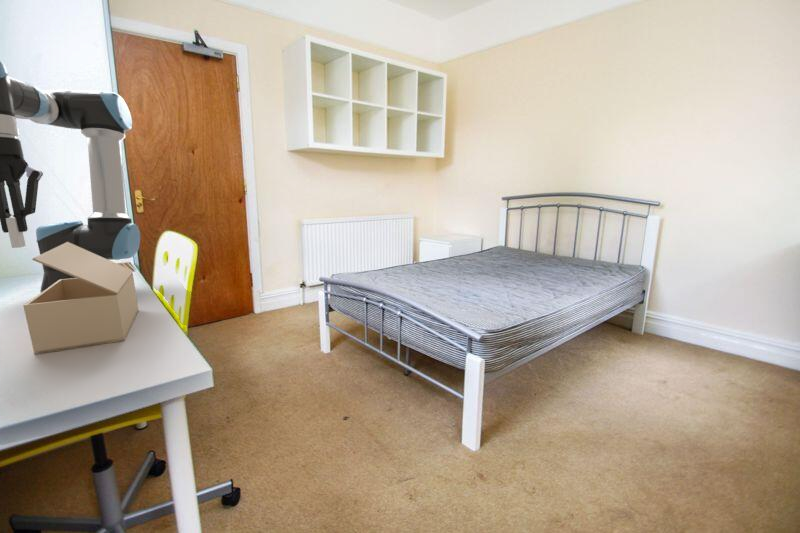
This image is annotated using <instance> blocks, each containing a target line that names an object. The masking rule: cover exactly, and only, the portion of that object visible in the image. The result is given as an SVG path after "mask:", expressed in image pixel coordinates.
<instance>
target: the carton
mask: <svg viewBox="0 0 800 533" xmlns="http://www.w3.org/2000/svg"><path fill="white" fill-rule="evenodd" d="M133 273H134V272H132V274H131V275H130V276H129V278H128V279H127V281H126V282H125V283H124V285H123V286H122V288H121V289H120V290H119V292H118V293H117V294H115V293H112V292H110V291H107V290H105V289H102V288H100V287H98V286H95V285H93V284H90V283H88V282H85V281H83V280H80V279H78V278H71V279H60V280H58V281H57V282H55V283H54V284H53V285H51V286H50V287H48V288H47V289H46V290H44V291H43V292H40V293H38V294H37V295H36V296H34V297H33V298H31V299H30V300H29V301H27V302H26V303H25V304H23V305H22V306H23V309H24V314H25V317H26V323H27V328H28V332H29V335H30V341H31V345H32V349H33V350H32V351H33V355H42V354H47V353H52V352H59V351H66V350H73V349H80V348H86V347H93V346H99V345H105V343H106V344H112V343H118V342H119V343H120V342H125V340H126V338H127V336H128V334H129V332H130V330H131V328H132V325H133V324H134V322H135V319H136V317H137V315H138V313H139V304H138V297H137V292H136V286H135V280H134V274H133Z"/></svg>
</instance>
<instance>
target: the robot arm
mask: <svg viewBox="0 0 800 533" xmlns="http://www.w3.org/2000/svg"><path fill="white" fill-rule="evenodd" d="M17 119H21V120H30V121H31V122H33V123H36V124H40V125H46V126H47V125H48V126H53V127H60V128H64V129H71V130H80V133H81V134H82V135H83V136H85V138H86V139H87V149H88V150H87V151H88V164H89V165H88V166H89V177H90V188H91V189H90V190H91V204H92V205H91V206H92V214H91V215H89V216H88V217H87V224H84V223H83V221H82V220H81V219H79V220H72V221H71V220H70V221H63V222H58V223H50V224H46V225H39V226H38V227H37V228H36V230H35V235H36V243H37V248H38V250H39V255H41V254H43V253H45V252H47V251H49V250H51V249H54V248H56V247H58V246H60V245H62V244H64V243H66V242H69V243H72V244H74V245H76V246H78V247H81V248H83V249H85V250H87V251H90V252H92V253H94V254H96V255H99V256H101V257H103V258H105V259H108V260H110V261H112V260H115V261H119V260H126V259H128V260H129V259H131V258H134V256H136V254H137V253H138V251H139V249H140V243H141V231H140V228H139V227H138V225H137V224H136V223H133V222H132V221H133V220H132V217H130V216H129V215H127V213H126V202H125V190H124V188H125V186H124V175H123V174H124V172H123V161H122V147H121V146H122V145H121V142H122V141H123V140H124V139H125V138H126V132H128V131H130V130H132V129H133V128H132V127H133V120H132V115H131V112H130V109H129V107H128V105H127V103H126V101H125V99H124V98H123V97H122V96H121V95H120V94H118V93H117V92H113V91H104V90H77V89H55V90H54V89H52V90H50V89H49V90H41V89H40V88H38V87H37V86H35V85H33V84H31V83H29V82H28V81H27V82H25V81H21V80H19V79H16V78H12V77H11V76H9V72H8V70H7V67H6V65H5V64H4V62H2V61H1V60H0V226H1V230H2V232H3V233H4V234H5V233H8V236H9V240H10V245H11V249H16V248H17V249H19V248H24V247H26V241H25V235H24V233H25V232H27V231H28V230H29V228H28V224H27V219H26V217H27V216H29V215H33V214H35V213H36V208H37V198H38V191H39V182H40V180H41V179H42V177H43V175H44V173H43V171H41V170H36V169H34V168H32V167H30V166H29V164H28V162H27V161H26V160H25V158H24V152H23V151H24V150H23V147H22V141H21V140H20V139H19V138H17V137H19V136H20V132H19V131H20V130H19V127H18V123H17ZM25 172H26V177H27V181H26V188H25V190H26V192H25V199H24V200H23V196H22V191H21V182H20V180H21V179H22V177H23V176H24V174H25ZM5 185H6V186H7V189H8V193H9V198H10V203H11V208H12V211H13V212H12V213H13V214H11V212H10V207H9V203H8V197H7V192H6V188H5ZM11 216H12V217H11ZM41 265H42V269H43V276H42V280H41V281H42V282H41V286H40V289H39V290H40V293H41V292H43V291H44V290H46V289H47V288H48V287H50V286H51V285H53V284H54V283H55V282H57V281H58V280H60V279H71V278H75V277H73V276H71V275H68V274H66V273H63V272H61V271H58V270H56V269H53V268H51V267H49V266H46V265H44V264H41Z"/></svg>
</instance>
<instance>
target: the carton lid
mask: <svg viewBox="0 0 800 533" xmlns="http://www.w3.org/2000/svg"><path fill="white" fill-rule="evenodd" d="M31 260H32V261H35V262H37V263H39V264H41V265H42V264H44V265H46V266H49V267H51V268H53V269H56V270H58V271H61V272H63V273H66V274H68V275H71V276H73V277H75V278H78V279H80V280H83V281H85V282H88V283H90V284H93V285H95V286H98V287H100V288H102V289H105V290H107V291H110V292H112V293H115V294H117V293H118V292H119V290H120V289H121V288H122V286H123V285H124V283H125V282H126V281H127V279H128V278H129V276H130V275H131V274H132V273H134V270H132V269H129V268H127V267H126V266H123V265H121V264H119V263H116V262H114V261H112V260H108V259H105V258H103V257H101V256H99V255H96V254H94V253H92V252H90V251H87V250H85V249H83V248H81V247H78V246H76V245H74V244H72V243H69V242H66V243H64V244H62V245H60V246H58V247H56V248H54V249H51V250H49V251H47V252H45V253H43V254H41V255H40V254H39V255H37V256H35V257H32V259H31Z"/></svg>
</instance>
